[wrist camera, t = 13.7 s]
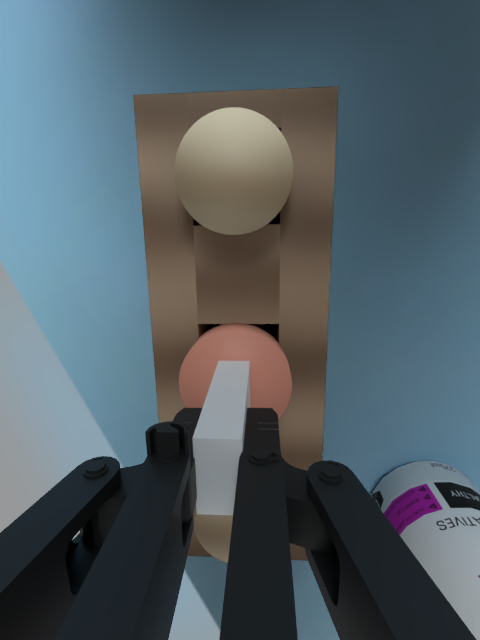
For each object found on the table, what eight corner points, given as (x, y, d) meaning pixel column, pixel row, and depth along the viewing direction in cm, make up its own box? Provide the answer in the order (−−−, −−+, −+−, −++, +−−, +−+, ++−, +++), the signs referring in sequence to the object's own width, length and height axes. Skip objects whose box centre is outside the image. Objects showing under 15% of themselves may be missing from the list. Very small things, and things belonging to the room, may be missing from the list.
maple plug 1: (209, 424, 28) (192, 486, 21) (281, 425, 28) (287, 489, 21) (211, 486, 29) (196, 563, 22) (280, 488, 29) (286, 567, 22)
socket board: (165, 128, 24) (133, 95, 18) (319, 122, 23) (338, 86, 17) (187, 492, 30) (169, 554, 24) (306, 496, 30) (317, 560, 24)
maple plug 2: (197, 145, 23) (170, 109, 16) (285, 142, 23) (294, 104, 16) (201, 234, 24) (177, 235, 18) (283, 233, 24) (292, 234, 17)
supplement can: (375, 547, 30) (479, 835, 16) (359, 464, 29) (459, 705, 14) (475, 533, 30) (681, 825, 15) (465, 446, 28) (689, 684, 13)
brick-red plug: (200, 302, 24) (175, 330, 17) (284, 302, 24) (293, 330, 17) (203, 380, 25) (181, 435, 19) (283, 381, 25) (291, 437, 18)
